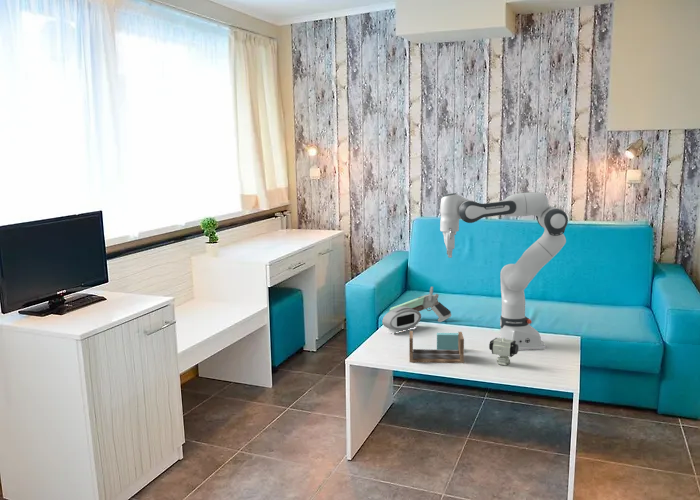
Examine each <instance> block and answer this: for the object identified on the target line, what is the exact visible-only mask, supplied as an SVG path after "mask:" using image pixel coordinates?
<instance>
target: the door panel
mask: <svg viewBox="0 0 700 500" xmlns="http://www.w3.org/2000/svg"><path fill="white" fill-rule="evenodd" d="M436 350H458V332H436Z"/></svg>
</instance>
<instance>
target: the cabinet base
mask: <svg viewBox="0 0 700 500" xmlns="http://www.w3.org/2000/svg"><path fill="white" fill-rule="evenodd" d="M413 333H414V331H413V330H409V338H408V339H409V341H408V343H409V344H408V346H409V363H435V364H437V363H438V364H439V363H443V364H464V363H465V353H464V350H465V338H464V335H463V332H462V331H457V333H458V350H437V349H430V348H429V349H427V348H425V349H423V348H422V349H421V348H420V349H418V348H416V349H415V348H414V343H413V342H414V337H413V336H414V334H413Z"/></svg>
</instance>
